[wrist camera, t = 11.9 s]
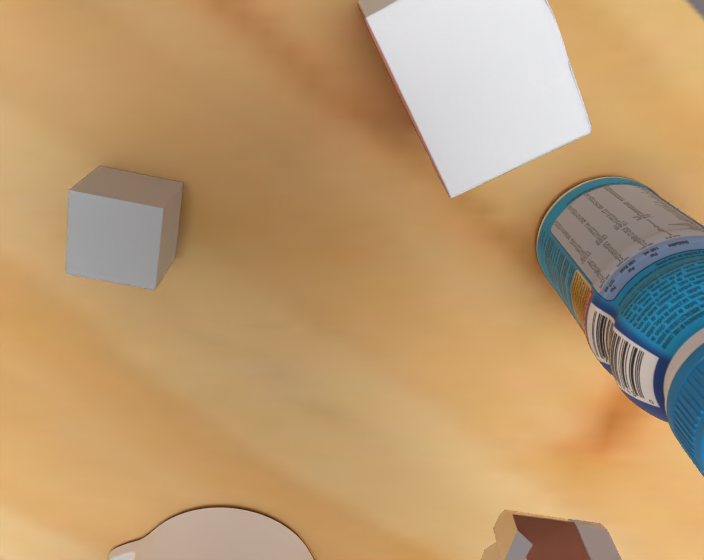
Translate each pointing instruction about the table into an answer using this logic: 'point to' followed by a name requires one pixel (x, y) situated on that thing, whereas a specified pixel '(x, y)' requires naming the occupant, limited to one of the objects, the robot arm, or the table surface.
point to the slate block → (123, 227)
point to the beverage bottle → (635, 294)
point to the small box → (479, 82)
